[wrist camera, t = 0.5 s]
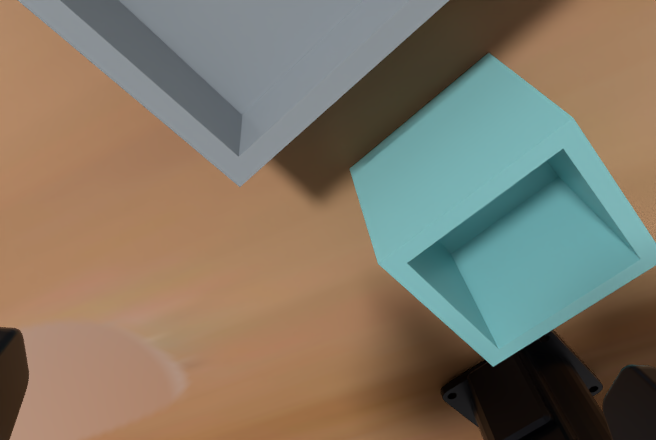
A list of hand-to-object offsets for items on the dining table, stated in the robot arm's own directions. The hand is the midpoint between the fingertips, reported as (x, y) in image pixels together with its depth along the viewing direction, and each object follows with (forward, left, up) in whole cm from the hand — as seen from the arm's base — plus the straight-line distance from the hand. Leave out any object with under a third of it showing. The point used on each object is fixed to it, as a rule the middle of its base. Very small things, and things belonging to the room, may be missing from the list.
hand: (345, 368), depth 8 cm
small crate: (-7, -3, -13) cm, 15 cm away
